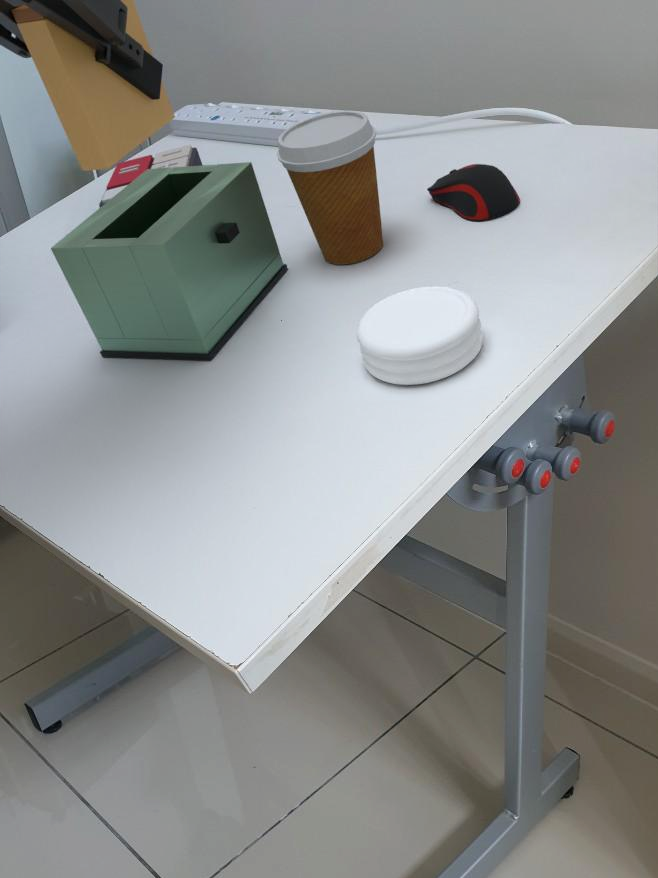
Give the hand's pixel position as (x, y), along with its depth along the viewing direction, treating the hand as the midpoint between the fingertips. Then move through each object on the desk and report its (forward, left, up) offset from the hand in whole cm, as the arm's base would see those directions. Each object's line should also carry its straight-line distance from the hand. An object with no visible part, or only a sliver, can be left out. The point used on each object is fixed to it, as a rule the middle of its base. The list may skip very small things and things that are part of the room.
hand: (140, 83), depth 70 cm
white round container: (+22, -6, -21) cm, 31 cm away
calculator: (-25, +26, -21) cm, 42 cm away
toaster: (-4, 0, -21) cm, 21 cm away
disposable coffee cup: (+8, +12, -21) cm, 26 cm away
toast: (0, -4, -3) cm, 5 cm away
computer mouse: (+18, +22, -21) cm, 36 cm away
